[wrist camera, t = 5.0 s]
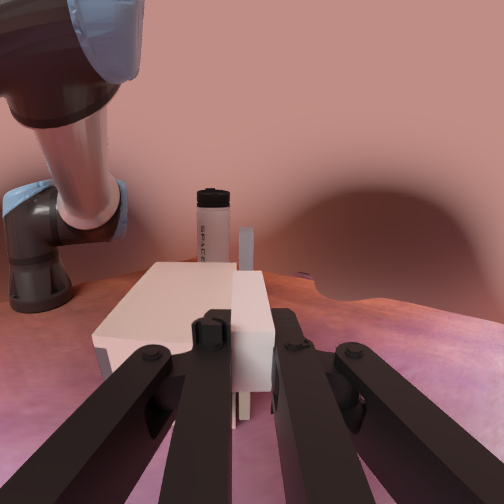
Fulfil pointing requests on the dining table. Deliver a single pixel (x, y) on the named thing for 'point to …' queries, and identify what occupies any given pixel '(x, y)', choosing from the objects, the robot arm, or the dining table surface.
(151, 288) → the cream case
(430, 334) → the dining table surface
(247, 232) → the side door
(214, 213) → the travel mug
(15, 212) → the robot arm
